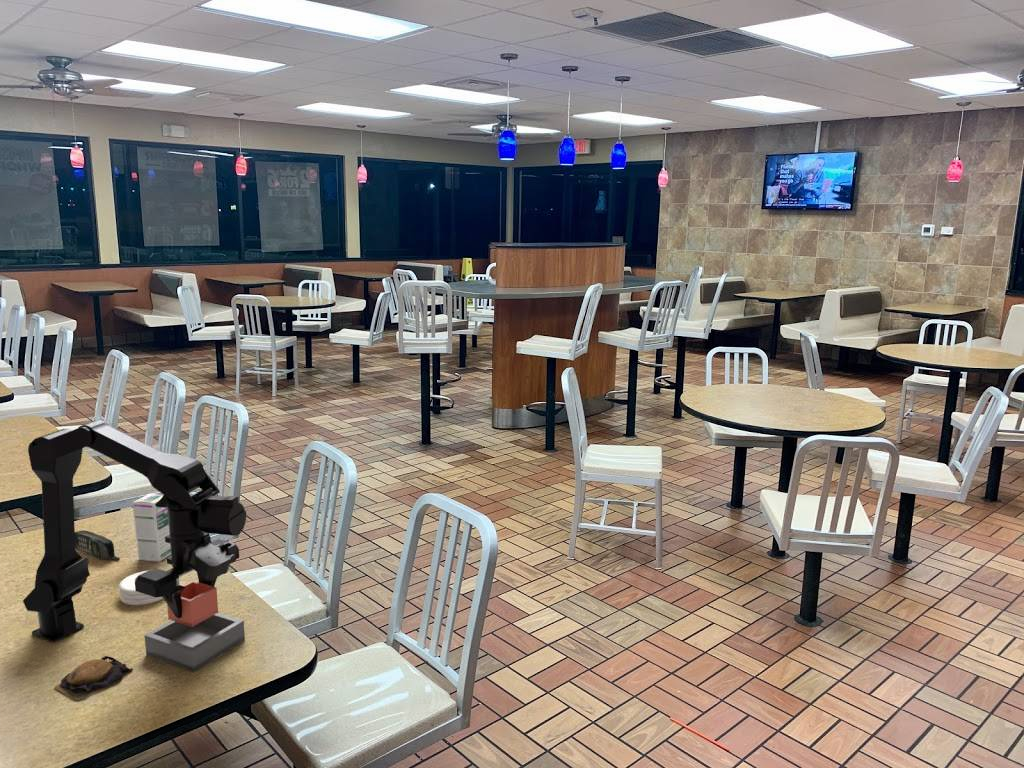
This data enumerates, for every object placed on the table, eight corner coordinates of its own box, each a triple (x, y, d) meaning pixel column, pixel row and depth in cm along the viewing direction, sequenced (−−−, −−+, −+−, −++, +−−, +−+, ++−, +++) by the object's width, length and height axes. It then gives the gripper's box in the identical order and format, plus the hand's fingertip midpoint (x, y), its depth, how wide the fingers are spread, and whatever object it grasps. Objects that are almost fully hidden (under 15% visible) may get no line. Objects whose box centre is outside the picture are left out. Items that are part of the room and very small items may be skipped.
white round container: (114, 593, 163) (112, 578, 162) (163, 580, 169) (162, 565, 169) (127, 611, 155) (126, 595, 155) (178, 596, 162) (177, 581, 161)
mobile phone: (70, 531, 183) (108, 543, 175) (82, 527, 185) (120, 539, 178) (73, 551, 184) (110, 564, 176) (85, 546, 186) (123, 559, 179)
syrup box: (160, 562, 177) (154, 503, 174) (137, 560, 178) (131, 500, 176) (175, 552, 183) (170, 494, 180) (153, 550, 184) (148, 492, 181)
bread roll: (78, 706, 126) (76, 686, 125) (50, 690, 130) (48, 670, 129) (139, 675, 135) (137, 656, 134) (111, 660, 139) (109, 641, 138)
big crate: (146, 655, 140) (144, 635, 139) (199, 625, 150) (197, 606, 149) (193, 672, 134) (191, 651, 134) (244, 640, 145) (243, 620, 144)
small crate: (168, 619, 140) (166, 593, 139) (195, 604, 145) (193, 580, 144) (192, 627, 137) (189, 601, 136) (218, 612, 142) (216, 587, 141)
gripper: (175, 558, 126) (182, 645, 129) (258, 520, 142) (263, 598, 145) (129, 545, 131) (137, 629, 134) (215, 510, 147) (220, 585, 150)
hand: (193, 609), depth 141 cm, fingers closed on small crate, 6 cm apart
